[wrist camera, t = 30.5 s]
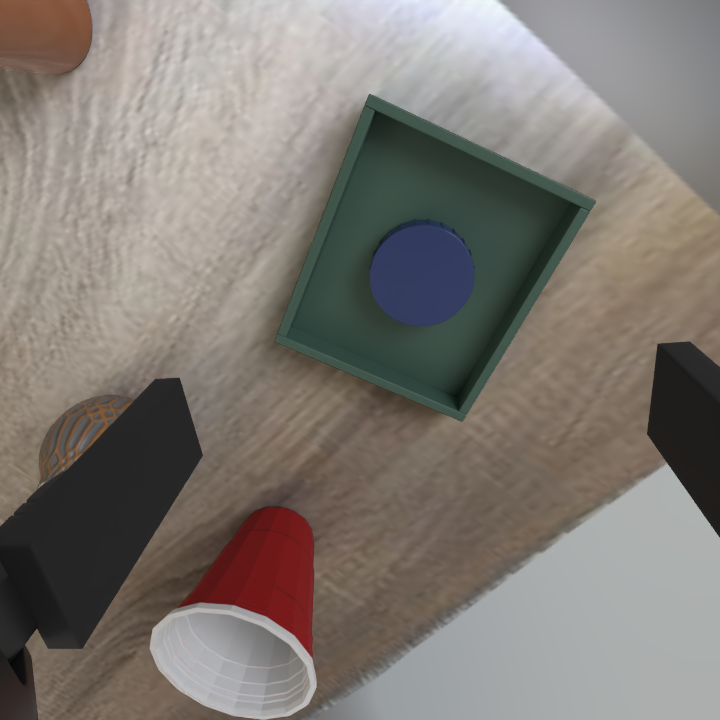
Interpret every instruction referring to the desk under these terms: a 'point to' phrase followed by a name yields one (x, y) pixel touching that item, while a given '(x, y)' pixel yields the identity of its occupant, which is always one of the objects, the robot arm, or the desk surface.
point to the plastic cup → (247, 623)
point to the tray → (456, 210)
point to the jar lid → (421, 273)
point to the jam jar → (44, 35)
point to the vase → (77, 433)
